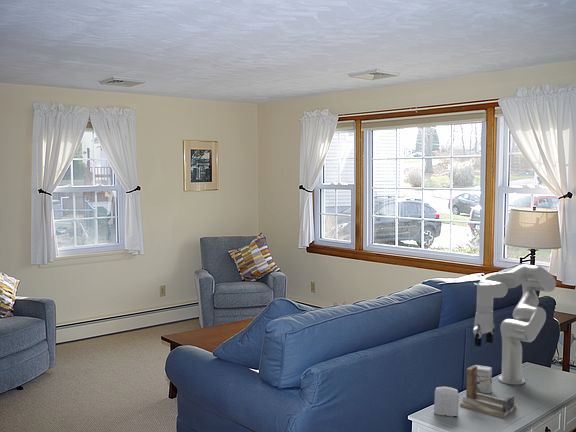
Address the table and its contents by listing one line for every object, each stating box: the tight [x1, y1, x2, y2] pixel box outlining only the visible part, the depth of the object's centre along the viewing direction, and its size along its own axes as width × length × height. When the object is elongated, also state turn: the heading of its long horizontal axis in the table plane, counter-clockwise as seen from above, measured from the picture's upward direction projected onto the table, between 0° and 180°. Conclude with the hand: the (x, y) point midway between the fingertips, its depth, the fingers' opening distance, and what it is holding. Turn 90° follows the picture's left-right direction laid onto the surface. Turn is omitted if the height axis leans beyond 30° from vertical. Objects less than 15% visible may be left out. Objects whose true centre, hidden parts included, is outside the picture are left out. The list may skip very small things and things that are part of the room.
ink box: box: [474, 364, 493, 394], centre depth 296 cm, size 9×5×12 cm, turn 62°
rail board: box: [459, 392, 517, 419], centre depth 276 cm, size 14×20×6 cm
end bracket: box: [465, 365, 478, 399], centre depth 281 cm, size 6×2×15 cm, turn 137°
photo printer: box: [433, 386, 460, 417], centre depth 268 cm, size 10×4×12 cm, turn 72°
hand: (483, 344), depth 293 cm, fingers open, 9 cm apart
